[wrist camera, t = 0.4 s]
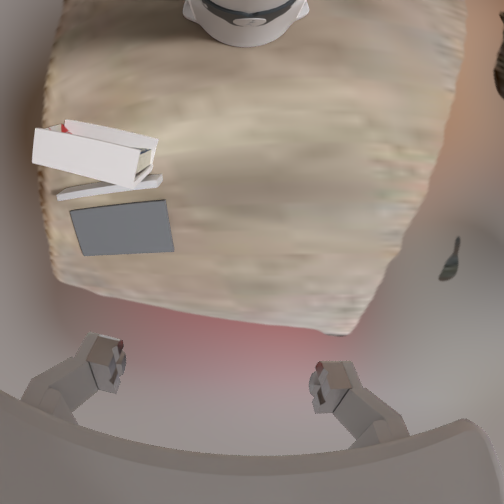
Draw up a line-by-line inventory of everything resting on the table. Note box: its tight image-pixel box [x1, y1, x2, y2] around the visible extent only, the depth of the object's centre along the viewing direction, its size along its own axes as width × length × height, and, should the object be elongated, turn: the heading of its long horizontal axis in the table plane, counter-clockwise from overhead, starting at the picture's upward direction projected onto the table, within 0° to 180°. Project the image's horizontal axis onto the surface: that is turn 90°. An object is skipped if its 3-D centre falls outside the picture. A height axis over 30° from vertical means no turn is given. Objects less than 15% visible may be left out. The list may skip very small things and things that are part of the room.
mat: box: [70, 200, 174, 256], centre depth 48 cm, size 10×20×1 cm, turn 91°
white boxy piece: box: [32, 119, 159, 189], centre depth 35 cm, size 20×6×9 cm, turn 70°
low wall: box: [56, 174, 163, 201], centre depth 42 cm, size 1×20×4 cm, turn 92°
